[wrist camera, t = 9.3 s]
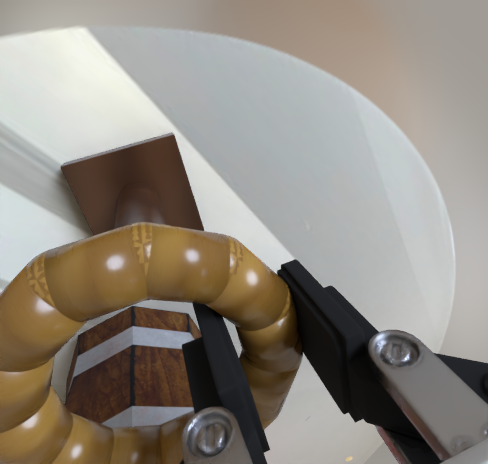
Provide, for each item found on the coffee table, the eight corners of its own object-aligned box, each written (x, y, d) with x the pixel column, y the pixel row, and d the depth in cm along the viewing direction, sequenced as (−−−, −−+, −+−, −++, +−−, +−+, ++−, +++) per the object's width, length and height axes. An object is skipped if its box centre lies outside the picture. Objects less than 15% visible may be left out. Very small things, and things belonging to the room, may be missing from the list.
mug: (127, 279, 29) (122, 443, 16) (237, 342, 35) (300, 497, 22) (-8, 434, 31) (-114, 696, 18) (119, 468, 37) (112, 678, 24)
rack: (172, 132, 25) (201, 167, 15) (201, 225, 29) (242, 308, 18) (63, 163, 24) (7, 226, 13) (108, 256, 28) (93, 366, 17)
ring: (257, 173, 10) (284, 192, 8) (301, 387, 14) (325, 430, 13) (-105, 286, 8) (-168, 341, 7) (70, 490, 13) (60, 555, 11)
